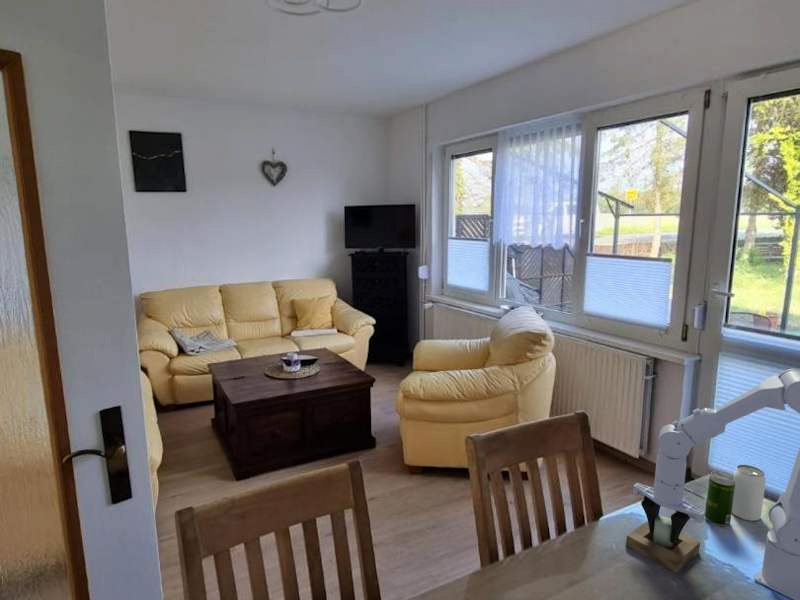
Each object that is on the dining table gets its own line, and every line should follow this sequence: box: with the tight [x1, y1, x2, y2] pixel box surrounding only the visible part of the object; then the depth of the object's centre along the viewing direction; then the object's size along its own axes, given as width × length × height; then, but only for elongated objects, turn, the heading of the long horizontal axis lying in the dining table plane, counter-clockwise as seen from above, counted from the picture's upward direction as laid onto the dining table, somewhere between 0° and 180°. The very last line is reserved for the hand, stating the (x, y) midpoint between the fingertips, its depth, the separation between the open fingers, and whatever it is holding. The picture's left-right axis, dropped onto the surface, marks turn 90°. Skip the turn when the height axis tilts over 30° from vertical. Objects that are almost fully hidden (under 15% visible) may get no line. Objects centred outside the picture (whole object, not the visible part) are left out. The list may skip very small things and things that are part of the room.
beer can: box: [704, 470, 735, 528], centre depth 122 cm, size 5×5×12 cm
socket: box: [625, 520, 701, 573], centre depth 111 cm, size 11×11×2 cm
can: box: [732, 464, 766, 522], centre depth 125 cm, size 6×6×12 cm
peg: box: [652, 515, 674, 548], centre depth 111 cm, size 4×4×5 cm
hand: (663, 535), depth 111 cm, fingers closed on peg, 4 cm apart
